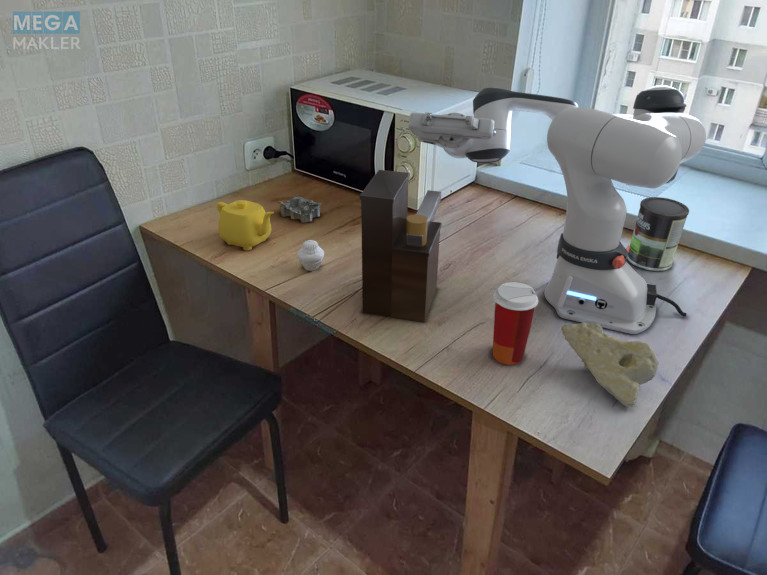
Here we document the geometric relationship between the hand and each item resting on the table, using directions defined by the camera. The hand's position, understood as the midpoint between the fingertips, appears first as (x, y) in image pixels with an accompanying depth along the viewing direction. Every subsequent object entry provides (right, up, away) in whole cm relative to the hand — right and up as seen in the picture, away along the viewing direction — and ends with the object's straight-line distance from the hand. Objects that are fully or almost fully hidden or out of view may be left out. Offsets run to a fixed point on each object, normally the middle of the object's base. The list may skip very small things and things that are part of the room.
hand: (448, 117), depth 138 cm
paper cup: (+8, -51, -25) cm, 58 cm away
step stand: (-12, -41, -9) cm, 44 cm away
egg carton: (-37, -19, +27) cm, 50 cm away
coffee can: (+48, -32, +7) cm, 59 cm away
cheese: (+23, -55, -30) cm, 67 cm away
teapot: (-48, -27, +13) cm, 57 cm away
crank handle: (-6, -25, -13) cm, 29 cm away
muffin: (-31, -34, +3) cm, 46 cm away
